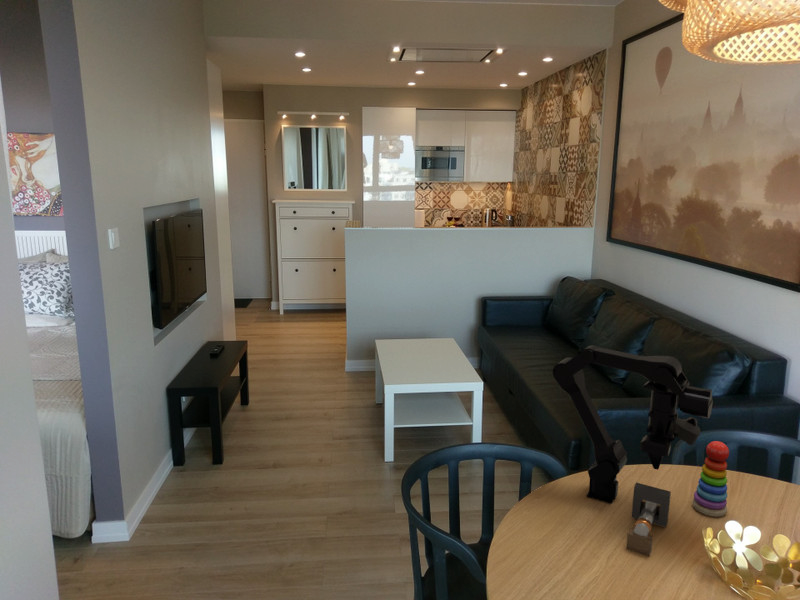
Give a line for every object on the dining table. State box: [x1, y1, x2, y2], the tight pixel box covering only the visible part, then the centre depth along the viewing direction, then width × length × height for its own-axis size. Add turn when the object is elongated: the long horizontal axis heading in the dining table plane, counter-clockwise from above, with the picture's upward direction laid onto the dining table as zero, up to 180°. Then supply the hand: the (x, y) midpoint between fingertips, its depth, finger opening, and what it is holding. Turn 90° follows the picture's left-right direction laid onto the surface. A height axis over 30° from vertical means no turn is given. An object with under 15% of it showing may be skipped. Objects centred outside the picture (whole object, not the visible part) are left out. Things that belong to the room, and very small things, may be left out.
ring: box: [631, 481, 672, 528], centre depth 140 cm, size 2×8×8 cm, turn 57°
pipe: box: [625, 499, 660, 557], centre depth 137 cm, size 18×5×6 cm, turn 147°
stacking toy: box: [691, 440, 730, 517], centre depth 144 cm, size 8×8×19 cm
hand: (657, 465), depth 143 cm, fingers open, 4 cm apart
